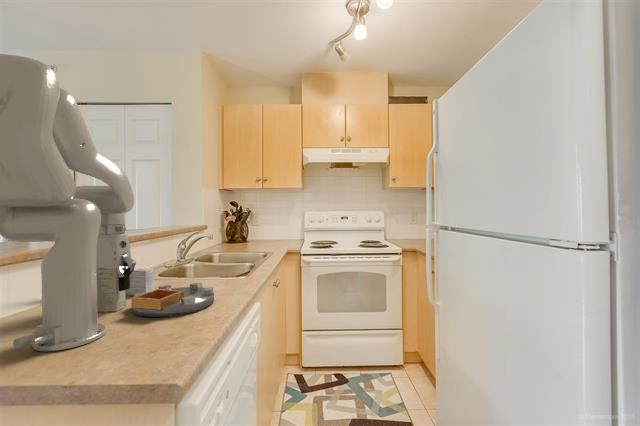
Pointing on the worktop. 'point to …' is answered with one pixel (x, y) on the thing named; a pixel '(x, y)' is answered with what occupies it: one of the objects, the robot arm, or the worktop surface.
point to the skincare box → (109, 291)
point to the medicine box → (141, 281)
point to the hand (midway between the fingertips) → (110, 288)
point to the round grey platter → (172, 300)
